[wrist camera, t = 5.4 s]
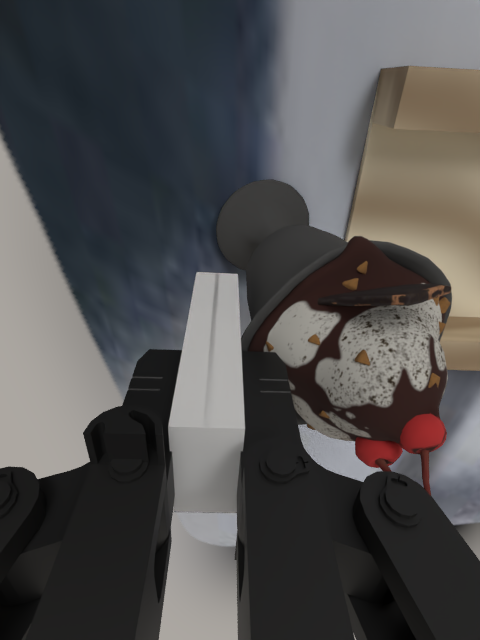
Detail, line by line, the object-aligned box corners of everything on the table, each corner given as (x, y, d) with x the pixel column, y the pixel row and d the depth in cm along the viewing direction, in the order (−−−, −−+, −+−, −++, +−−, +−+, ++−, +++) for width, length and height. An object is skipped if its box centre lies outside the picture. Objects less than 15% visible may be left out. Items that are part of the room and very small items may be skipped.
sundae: (265, 304, 22) (411, 604, 10) (173, 240, 18) (216, 578, 6) (348, 218, 20) (668, 464, 7) (261, 128, 16) (586, 310, 4)
